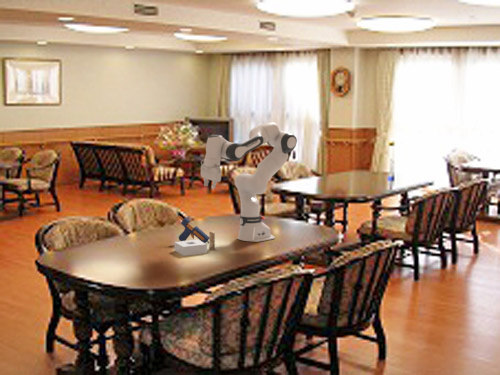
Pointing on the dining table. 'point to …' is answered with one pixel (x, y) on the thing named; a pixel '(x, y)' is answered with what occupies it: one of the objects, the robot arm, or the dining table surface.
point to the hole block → (190, 247)
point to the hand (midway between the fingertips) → (209, 187)
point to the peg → (211, 240)
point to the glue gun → (192, 231)
